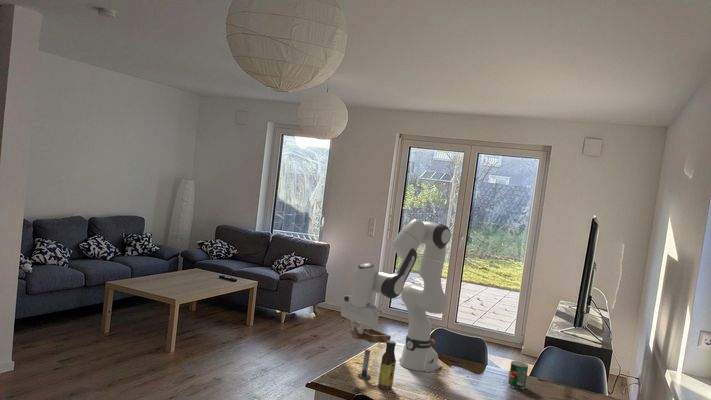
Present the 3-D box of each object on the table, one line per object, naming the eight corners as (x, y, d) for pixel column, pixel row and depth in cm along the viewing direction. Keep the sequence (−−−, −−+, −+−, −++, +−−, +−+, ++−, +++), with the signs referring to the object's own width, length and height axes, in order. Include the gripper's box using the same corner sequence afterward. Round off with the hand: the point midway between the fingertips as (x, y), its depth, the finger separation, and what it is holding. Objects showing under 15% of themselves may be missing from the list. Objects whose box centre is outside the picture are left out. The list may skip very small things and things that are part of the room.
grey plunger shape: (364, 373, 257) (367, 347, 256) (373, 378, 252) (377, 351, 252) (354, 375, 253) (358, 349, 252) (363, 380, 248) (367, 353, 248)
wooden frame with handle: (369, 334, 261) (371, 326, 261) (389, 342, 252) (391, 333, 252) (344, 334, 250) (346, 325, 250) (363, 342, 241) (365, 333, 241)
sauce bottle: (391, 391, 239) (397, 345, 239) (376, 388, 241) (383, 342, 240) (393, 386, 246) (399, 341, 245) (378, 383, 247) (385, 338, 246)
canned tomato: (504, 384, 269) (507, 361, 269) (514, 382, 274) (517, 360, 274) (518, 390, 263) (521, 367, 263) (528, 388, 268) (531, 365, 268)
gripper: (383, 306, 240) (379, 338, 241) (350, 294, 255) (346, 325, 256) (373, 307, 236) (368, 339, 236) (340, 295, 251) (336, 326, 251)
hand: (357, 332), depth 246 cm, fingers closed on wooden frame with handle, 2 cm apart
